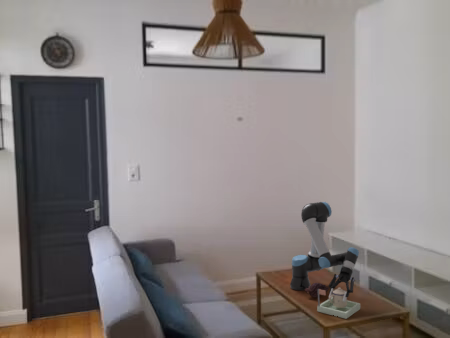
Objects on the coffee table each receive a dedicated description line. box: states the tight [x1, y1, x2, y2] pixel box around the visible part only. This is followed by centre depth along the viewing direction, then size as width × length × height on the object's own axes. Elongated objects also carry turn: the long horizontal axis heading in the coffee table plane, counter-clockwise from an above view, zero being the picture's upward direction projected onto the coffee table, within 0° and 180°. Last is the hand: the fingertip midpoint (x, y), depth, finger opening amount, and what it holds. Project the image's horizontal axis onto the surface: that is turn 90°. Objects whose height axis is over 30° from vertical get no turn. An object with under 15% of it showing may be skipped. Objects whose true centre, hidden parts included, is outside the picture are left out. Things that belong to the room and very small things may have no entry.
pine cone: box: [304, 282, 330, 298], centre depth 308 cm, size 18×10×10 cm, turn 101°
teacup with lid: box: [328, 287, 348, 308], centre depth 283 cm, size 12×9×12 cm
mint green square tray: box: [316, 289, 361, 320], centre depth 282 cm, size 20×20×14 cm
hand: (336, 299), depth 280 cm, fingers closed on teacup with lid, 9 cm apart
